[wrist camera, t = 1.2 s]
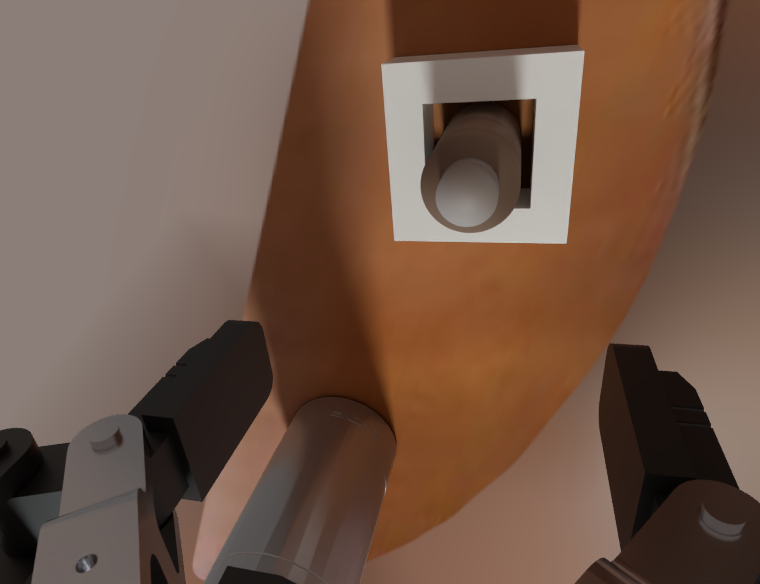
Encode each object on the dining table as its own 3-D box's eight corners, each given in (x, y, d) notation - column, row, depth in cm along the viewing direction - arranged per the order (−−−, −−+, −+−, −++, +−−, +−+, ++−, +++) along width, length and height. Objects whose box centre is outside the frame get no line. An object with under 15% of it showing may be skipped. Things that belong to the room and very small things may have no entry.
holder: (562, 220, 32) (566, 243, 29) (405, 219, 34) (394, 240, 31) (577, 44, 27) (584, 50, 24) (395, 57, 29) (381, 64, 26)
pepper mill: (496, 191, 32) (486, 262, 23) (431, 157, 32) (398, 216, 23) (536, 124, 29) (542, 176, 21) (467, 87, 29) (444, 125, 21)
